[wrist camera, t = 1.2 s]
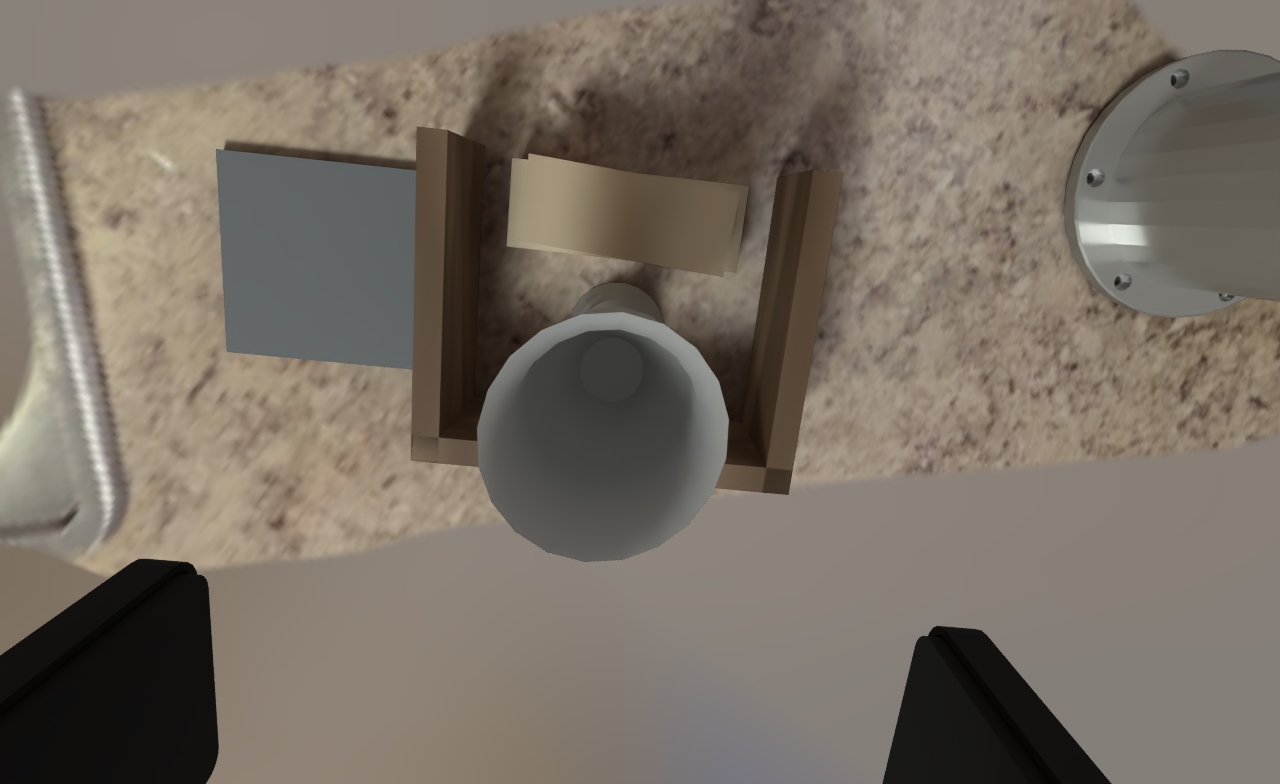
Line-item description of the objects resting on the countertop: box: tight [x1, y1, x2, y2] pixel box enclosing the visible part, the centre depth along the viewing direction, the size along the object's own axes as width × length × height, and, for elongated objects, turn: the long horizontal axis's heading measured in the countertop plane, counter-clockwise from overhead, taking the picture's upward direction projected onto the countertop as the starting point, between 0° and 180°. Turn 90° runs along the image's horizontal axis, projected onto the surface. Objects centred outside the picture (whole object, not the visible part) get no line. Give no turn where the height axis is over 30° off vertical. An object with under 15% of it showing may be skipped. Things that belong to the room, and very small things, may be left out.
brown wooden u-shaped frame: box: [411, 127, 843, 495], centre depth 32 cm, size 17×14×7 cm
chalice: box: [477, 283, 729, 562], centre depth 27 cm, size 7×7×18 cm
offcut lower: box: [507, 158, 749, 272], centre depth 34 cm, size 11×4×3 cm, turn 84°
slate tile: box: [216, 149, 416, 370], centre depth 35 cm, size 10×10×1 cm
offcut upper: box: [518, 153, 740, 277], centre depth 31 cm, size 9×4×3 cm, turn 80°
